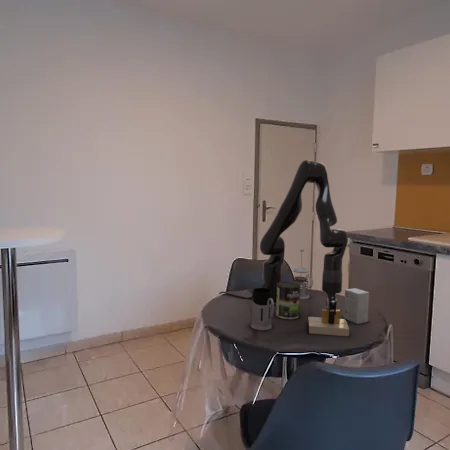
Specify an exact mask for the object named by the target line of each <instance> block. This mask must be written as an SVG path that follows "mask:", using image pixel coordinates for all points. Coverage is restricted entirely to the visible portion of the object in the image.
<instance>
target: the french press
mask: <svg viewBox="0 0 450 450" xmlns="http://www.w3.org/2000/svg"><path fill="white" fill-rule="evenodd" d="M299 251H300V252H301V254H300V255H301V260H300V267H296V268H294V269H293V272H294V273H298V274H306V276H302V275H300V276H295V277H293V281H292V282H294V283H298V284H300V300H306V299H310V295H309V289H310V288H311V287H313V284H314V283H313V276H312V275H310V274H309V272H310V270H309V269H307V268H306V267H303V266H302V263H303V252H304V249H303V248H301V249H300V250H299ZM307 273H308V274H307ZM308 278H309V280H308ZM309 283H310V284H309Z"/></svg>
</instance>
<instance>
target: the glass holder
mask: <svg viewBox="0 0 450 450" xmlns="http://www.w3.org/2000/svg"><path fill="white" fill-rule="evenodd" d="M271 292H272V291H271V290H270V289H267V288H262V287H255V288H253V289H252V295H253V298H252V299H251V300H252V301H251V303H252V304H251V308H252V309H251V323H250V327H251V328H252V329H253V330H256V331H268V330H271V329H273V325H272V318H273V315H274V310H275V305H274V302H273V300H272V298H271ZM271 301H272V302H271Z"/></svg>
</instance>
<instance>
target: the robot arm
mask: <svg viewBox="0 0 450 450" xmlns="http://www.w3.org/2000/svg"><path fill="white" fill-rule="evenodd" d="M308 183H310V184H314V185H315V187H316V189H317V197H316V200H315V205H314V206H315V207H314V208H315V213H316V216H317V219H318V222H319V241H320V244H321V245H322V246H323V247H324V248H327V249H328V248H329V249H330V248H332V250H331V251H330V252H326V253H325V254H324V256H323V270H322V279H321V281H322V282H321V291H322V292H324V293H326V294H325V305H326V309H328V314H329V316H328V323H329V324H334V317H335V315H336V310H337V303H338V297H337V295H336V294H341V293H342V292H343V258H344V255H345V252H346V249H347V246H348V242H349V237H348V234H347V232H346V230H344V229H342V228H341V229H339V228H338V229H337V228H336V229H335V228H334V229H333V228H332V229H331V227H333V226H335V225H336V224H337V223H338V217H337V214H336V211H335V208H334V205H333V201H332V198H331V191H330V190H331V189H330V184H329V183H330V182H329V176H328V171H327V167H326V165H325V164H324V163H322V162H320V161H315V160H310V159H305V160H302V161H301V163H300V164H299V165H298V166H297V169H296V172H295V174H294V176H293V179H292V181H291V184H290V187H289V189H288V191H287V193H286V194H285V197H284V199H283V201H282V203H281V204H280V206H279V207H278V210H277V213H276V214H275V216H274V218H273V220H272V222H271V224H270V225H269V227H268V229H267V230H266V232H265V233H264V234H263V236H262V238H261V239H260V243H259V251H260V253H261V254H263V255H265V256H269V257H268V258H267V259H266V260H264V262H263V263H262V284H261V288H267V289H270V290H271V291H272V292H271V298H272V300H273V302H274V306H276V303H277V283H279V282H283V281H282V276H283V265H284V262H285V249H286V244H285V241H284V238H283V236H282V234H283V233H284V232H286V231H287V230H288V229H290V227H291V226H293V224H295V222H296V221H297V220H298V218H299V216H300V214H301V212H302V210H303V199H302V194H303V191H304V188H305V186H306V184H308ZM221 294H226V295H228V296H233V297H235V298H240V299H243V300H253V294H252V295H251V297H250V296H249V297H247V296H246V297H245V296H241V295H237V294H233V293H229V292H227V291H220V292H219V293H218V295H221ZM271 302H272V301H271ZM331 310H334V312H332V311H331Z"/></svg>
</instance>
